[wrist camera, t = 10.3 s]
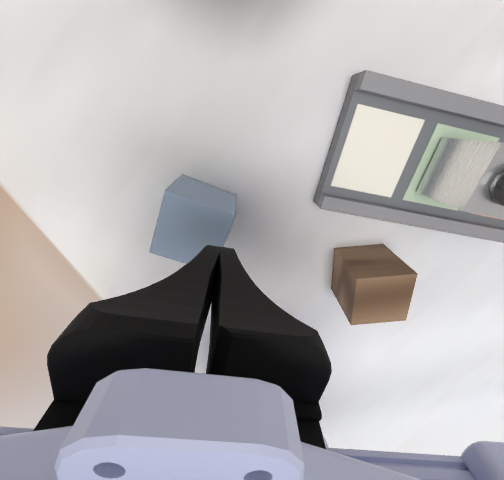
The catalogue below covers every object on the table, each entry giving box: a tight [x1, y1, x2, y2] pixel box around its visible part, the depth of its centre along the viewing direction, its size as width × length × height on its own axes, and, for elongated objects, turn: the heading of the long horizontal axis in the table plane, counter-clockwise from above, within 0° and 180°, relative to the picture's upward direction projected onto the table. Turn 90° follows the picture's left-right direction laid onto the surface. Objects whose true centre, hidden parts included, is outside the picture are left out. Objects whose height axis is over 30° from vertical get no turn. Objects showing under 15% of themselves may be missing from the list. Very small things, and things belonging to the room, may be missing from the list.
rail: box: [314, 70, 504, 243], centre depth 19 cm, size 9×18×2 cm, turn 79°
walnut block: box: [331, 244, 417, 325], centre depth 22 cm, size 4×4×5 cm
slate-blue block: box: [149, 175, 236, 264], centre depth 19 cm, size 4×4×5 cm
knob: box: [416, 137, 504, 219], centre depth 17 cm, size 4×4×5 cm
